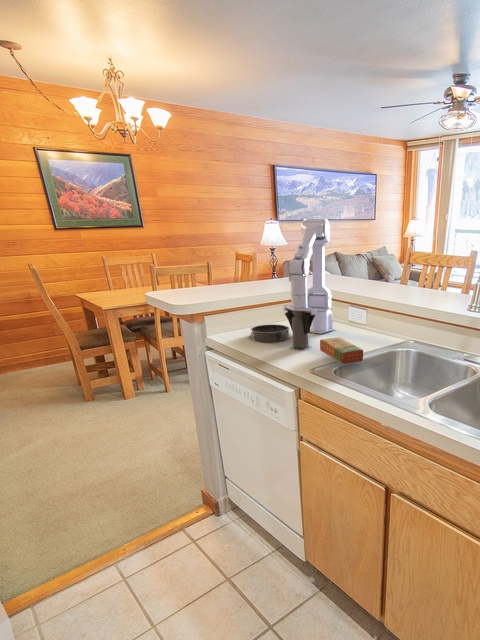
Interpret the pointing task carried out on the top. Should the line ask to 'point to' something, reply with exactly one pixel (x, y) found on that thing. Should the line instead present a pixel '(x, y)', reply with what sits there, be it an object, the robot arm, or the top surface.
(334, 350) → the carton
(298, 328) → the bottle
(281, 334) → the pan
